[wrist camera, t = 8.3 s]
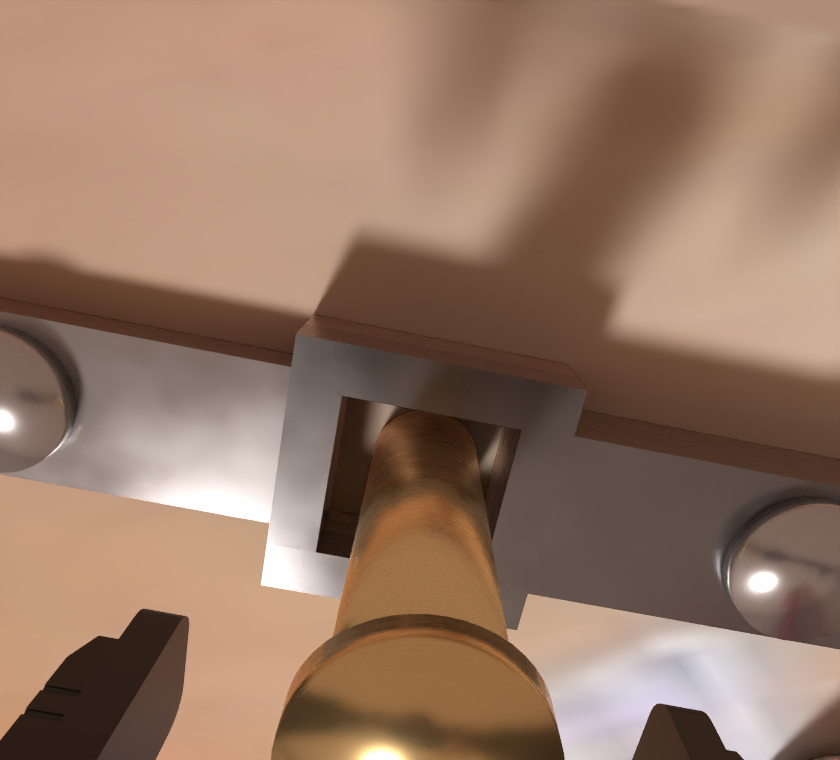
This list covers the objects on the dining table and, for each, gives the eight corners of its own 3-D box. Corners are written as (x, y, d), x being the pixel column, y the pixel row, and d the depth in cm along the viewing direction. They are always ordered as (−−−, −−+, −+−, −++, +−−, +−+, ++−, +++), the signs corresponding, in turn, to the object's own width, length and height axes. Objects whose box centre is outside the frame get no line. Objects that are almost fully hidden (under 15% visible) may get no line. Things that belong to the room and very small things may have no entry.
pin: (506, 407, 19) (600, 682, 8) (475, 528, 20) (524, 897, 9) (369, 381, 18) (290, 629, 8) (347, 504, 20) (255, 854, 9)
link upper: (895, 428, 19) (980, 473, 16) (800, 632, 21) (859, 704, 18) (312, 314, 18) (290, 339, 15) (280, 539, 20) (255, 598, 17)
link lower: (567, 364, 18) (582, 383, 16) (507, 580, 20) (514, 616, 19) (-109, 232, 17) (-168, 237, 16) (-93, 472, 20) (-144, 499, 18)
